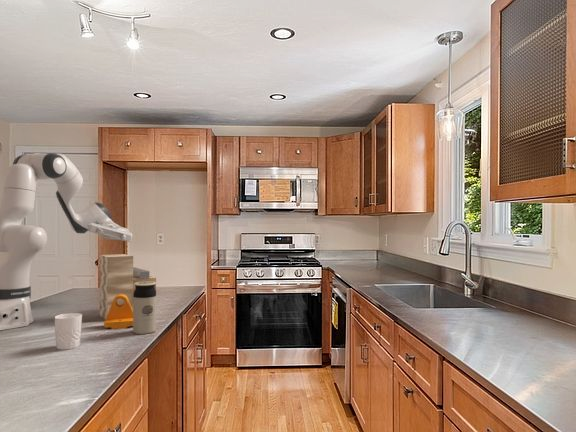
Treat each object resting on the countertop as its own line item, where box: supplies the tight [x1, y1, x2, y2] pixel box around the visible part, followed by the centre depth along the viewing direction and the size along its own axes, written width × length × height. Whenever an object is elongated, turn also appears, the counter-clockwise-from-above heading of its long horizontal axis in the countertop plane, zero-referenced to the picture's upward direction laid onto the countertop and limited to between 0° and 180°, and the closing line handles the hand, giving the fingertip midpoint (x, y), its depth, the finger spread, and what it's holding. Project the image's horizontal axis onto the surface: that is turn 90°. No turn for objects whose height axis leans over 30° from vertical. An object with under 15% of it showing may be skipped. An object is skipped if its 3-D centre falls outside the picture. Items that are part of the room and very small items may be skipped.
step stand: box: [99, 253, 157, 320], centre depth 179 cm, size 12×20×26 cm, turn 129°
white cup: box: [54, 312, 83, 351], centre depth 133 cm, size 8×8×10 cm
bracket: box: [103, 294, 133, 330], centre depth 159 cm, size 11×7×12 cm, turn 108°
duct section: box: [133, 266, 150, 279], centre depth 185 cm, size 20×4×3 cm, turn 39°
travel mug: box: [132, 282, 157, 335], centre depth 152 cm, size 8×8×18 cm
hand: (113, 235), depth 193 cm, fingers open, 8 cm apart
